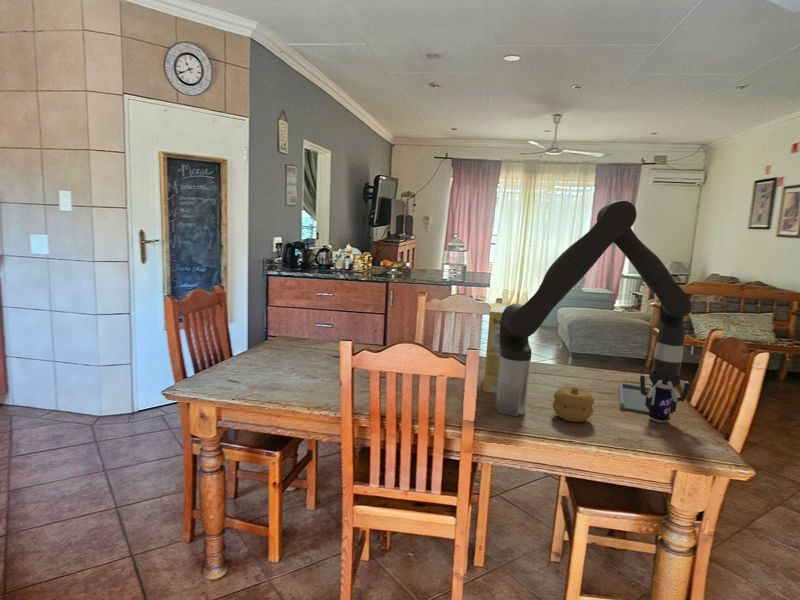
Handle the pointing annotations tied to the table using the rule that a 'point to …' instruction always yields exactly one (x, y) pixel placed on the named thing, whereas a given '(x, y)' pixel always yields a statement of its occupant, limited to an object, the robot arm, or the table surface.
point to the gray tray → (632, 398)
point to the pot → (573, 404)
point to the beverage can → (661, 403)
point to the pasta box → (493, 348)
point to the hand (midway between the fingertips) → (659, 410)
